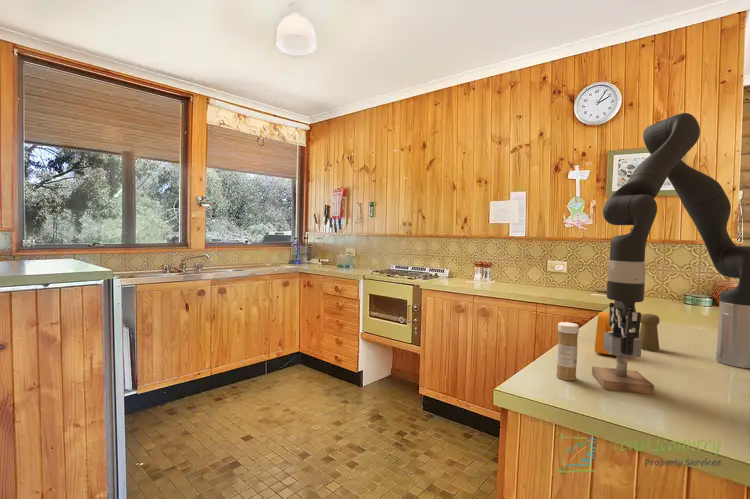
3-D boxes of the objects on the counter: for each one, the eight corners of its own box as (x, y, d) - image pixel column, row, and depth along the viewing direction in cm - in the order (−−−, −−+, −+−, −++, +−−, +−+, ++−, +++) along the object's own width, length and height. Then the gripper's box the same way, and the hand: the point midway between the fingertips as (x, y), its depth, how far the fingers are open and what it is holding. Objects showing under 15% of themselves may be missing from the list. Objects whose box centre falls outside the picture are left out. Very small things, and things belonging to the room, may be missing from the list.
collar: (631, 350, 97) (632, 334, 97) (640, 357, 91) (641, 340, 91) (603, 347, 99) (604, 331, 98) (611, 354, 93) (612, 337, 93)
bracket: (622, 359, 114) (625, 318, 114) (594, 354, 119) (596, 314, 118) (627, 351, 123) (629, 312, 122) (600, 346, 127) (602, 309, 127)
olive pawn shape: (658, 348, 127) (660, 313, 127) (660, 352, 122) (662, 317, 122) (636, 344, 130) (638, 311, 130) (636, 349, 125) (638, 314, 125)
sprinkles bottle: (564, 373, 101) (566, 321, 101) (580, 379, 97) (583, 325, 96) (551, 376, 99) (554, 322, 99) (567, 382, 95) (570, 326, 94)
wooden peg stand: (636, 378, 99) (638, 342, 98) (653, 394, 89) (655, 354, 89) (591, 374, 101) (593, 339, 101) (603, 388, 92) (605, 350, 91)
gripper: (657, 284, 86) (652, 361, 87) (632, 277, 100) (628, 344, 101) (618, 282, 88) (614, 357, 89) (599, 276, 102) (595, 341, 103)
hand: (621, 350), depth 95 cm, fingers closed on collar, 6 cm apart
